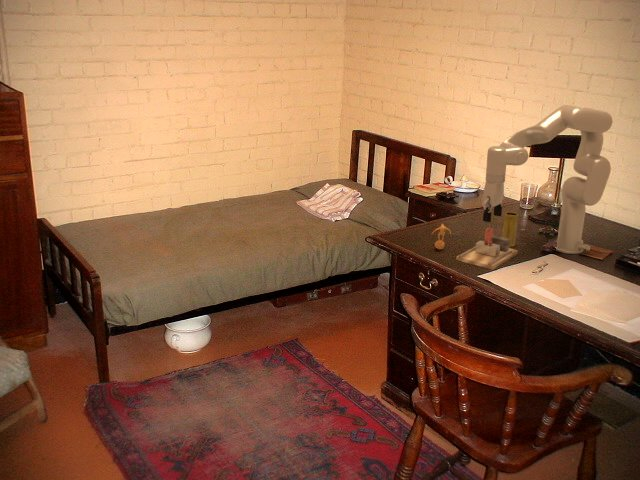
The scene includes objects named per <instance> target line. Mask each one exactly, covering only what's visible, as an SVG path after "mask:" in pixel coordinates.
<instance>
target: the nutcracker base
mask: <svg viewBox="0 0 640 480" xmlns="http://www.w3.org/2000/svg"><path fill="white" fill-rule="evenodd" d="M483 241H485V239H484V240H483ZM492 243H493V244H497V245H500V254H499V255H498V256H496V257H493V256H489V255H485V254H482V253H478V252H475V248H476V245H475V246H473V247H471V248H469V249H468V250H465V251H464V252H462V253H461V254H458V255H457V256H456V258H455V259H456V261H458V262H463V263H466V264H470V265H474V266H477V267H480V268H481V267H482V268H485V269H488V270H491V271H492V270H495V269H496V268H498V267H499V266H500V265H502V264H504V263H505V262H507V261H509V260H510V259H511V258H512V259H513V258H514V257H515V256H517V255H518V253H519V250H518V249H515V248H511V247H509V244H510V239H507V238H503V237H502V236H498V235H494V234H493V241H492Z"/></svg>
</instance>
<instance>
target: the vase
mask: <svg viewBox="0 0 640 480" xmlns="http://www.w3.org/2000/svg"><path fill="white" fill-rule="evenodd" d="M518 217H519V214H518V213H517V212H514V211H513V212H512V211H507V212H505V213H504V219H503V220H504V222H503V229H502V236H501V237H503V238H507V239H510V244H509V248H512V247H515V246H516V240H517V239H516V238H517V224H518Z"/></svg>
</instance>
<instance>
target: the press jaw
mask: <svg viewBox="0 0 640 480" xmlns="http://www.w3.org/2000/svg"><path fill="white" fill-rule="evenodd" d="M494 231H495V230H494V228H493V227H492V228H491V227H485V233H484V240H485V241H484V240H479V241H476V243H475V246H476V248H475V252H478V253H482V254H485V255H489V256H493V257H496V256H498V255H499V254H500V245H497V244H493V243H492V241H493V235H494Z"/></svg>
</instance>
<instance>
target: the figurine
mask: <svg viewBox="0 0 640 480" xmlns="http://www.w3.org/2000/svg"><path fill="white" fill-rule="evenodd" d="M438 230H439V232H438V234H437V237H438V240H437V241H436V242H435V244H434V246H435V249H437V250H439V251H440V250H443V249H444V247H445V241H444V236H445V234H446V232H445V231H449V233H450V235H452V232H451V229H450V228H448V227H446V226H445V225H444V223H441V225H440V226H439V227H438V228H436V229H434V230H433V231H432V233H431V235H433V234H434V233H435V232H436V231H438ZM441 235H442V237H440V236H441Z"/></svg>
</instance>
